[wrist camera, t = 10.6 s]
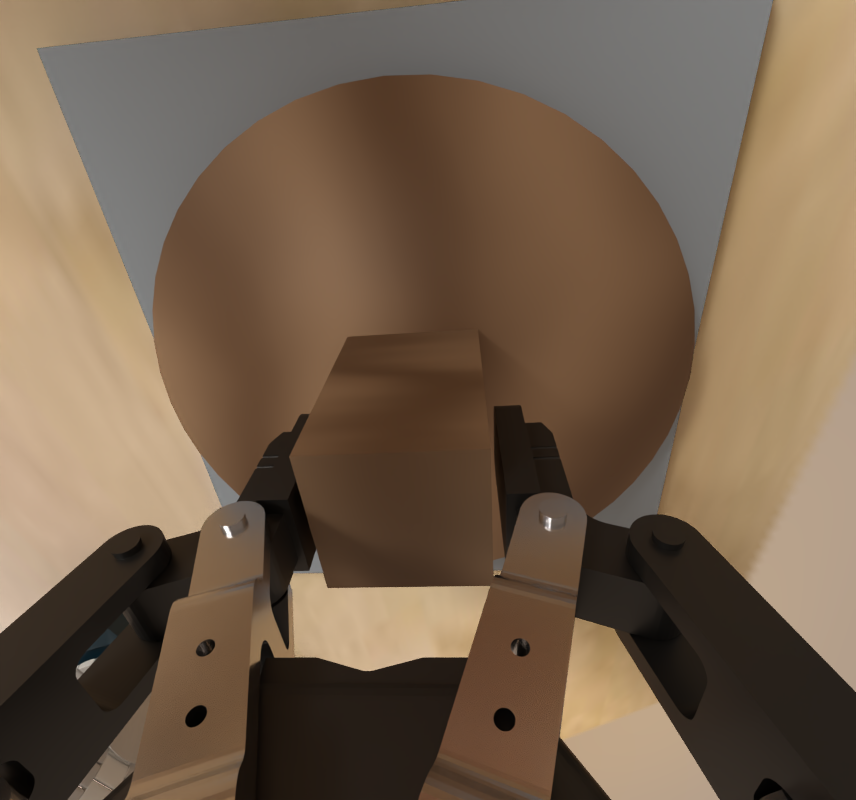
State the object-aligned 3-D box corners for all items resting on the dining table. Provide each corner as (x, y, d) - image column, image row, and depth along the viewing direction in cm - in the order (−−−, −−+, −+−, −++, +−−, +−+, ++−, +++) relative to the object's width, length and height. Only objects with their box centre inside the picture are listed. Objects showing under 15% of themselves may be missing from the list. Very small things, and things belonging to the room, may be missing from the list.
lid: (251, 548, 22) (170, 721, 15) (80, 112, 13) (-264, 108, 7) (638, 540, 20) (719, 727, 14) (738, 41, 11) (1069, -45, 5)
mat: (255, 560, 23) (248, 573, 22) (59, 52, 13) (36, 48, 12) (638, 553, 22) (644, 568, 21) (761, -27, 11) (781, -36, 11)
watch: (57, 599, 25) (-178, 884, 16) (171, 560, 23) (-21, 861, 14) (131, 656, 28) (-34, 932, 18) (240, 625, 26) (117, 918, 16)
